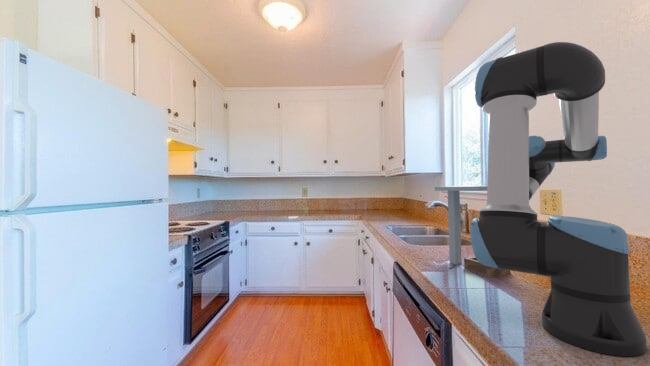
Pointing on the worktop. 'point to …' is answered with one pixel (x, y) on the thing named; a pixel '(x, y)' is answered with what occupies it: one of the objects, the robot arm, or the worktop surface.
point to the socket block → (482, 268)
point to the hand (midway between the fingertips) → (484, 238)
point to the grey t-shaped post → (456, 218)
